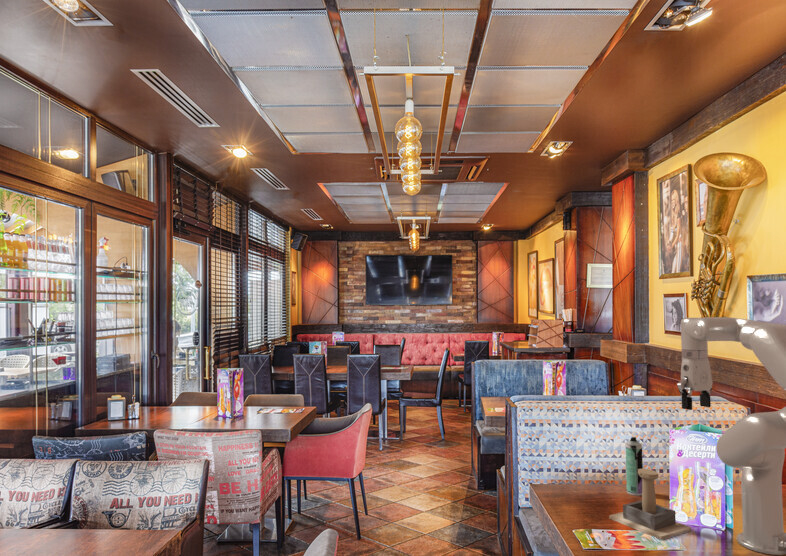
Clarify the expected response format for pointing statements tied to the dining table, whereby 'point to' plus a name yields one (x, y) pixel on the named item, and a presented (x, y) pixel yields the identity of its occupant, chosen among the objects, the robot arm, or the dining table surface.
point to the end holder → (650, 520)
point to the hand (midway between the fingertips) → (696, 407)
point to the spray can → (634, 467)
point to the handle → (648, 490)
